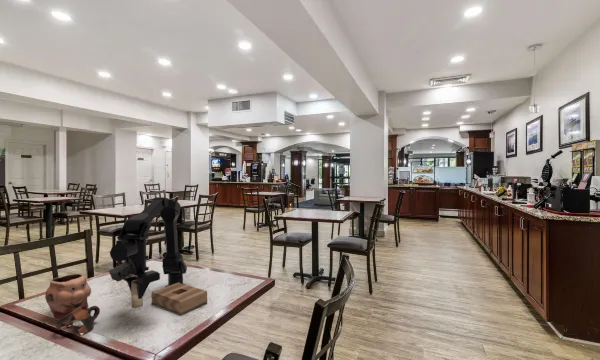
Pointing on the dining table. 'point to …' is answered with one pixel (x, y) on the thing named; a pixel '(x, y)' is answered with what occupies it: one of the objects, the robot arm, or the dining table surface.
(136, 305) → the maple dowel
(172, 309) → the walnut socket block
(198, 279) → the dining table surface
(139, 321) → the dining table surface
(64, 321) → the pottery mug
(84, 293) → the decorative planter
